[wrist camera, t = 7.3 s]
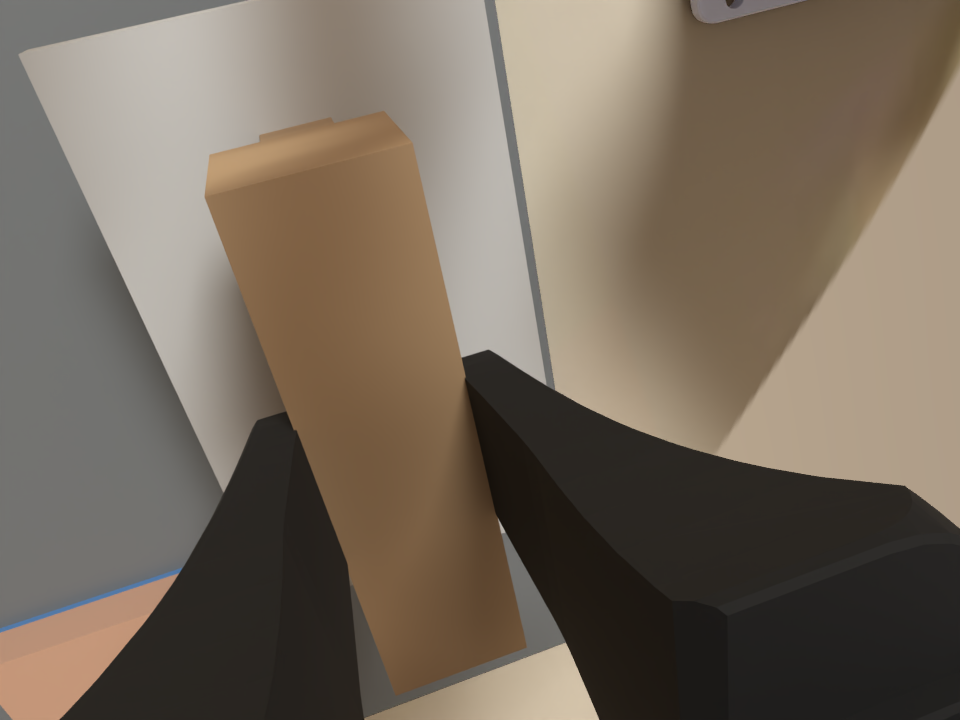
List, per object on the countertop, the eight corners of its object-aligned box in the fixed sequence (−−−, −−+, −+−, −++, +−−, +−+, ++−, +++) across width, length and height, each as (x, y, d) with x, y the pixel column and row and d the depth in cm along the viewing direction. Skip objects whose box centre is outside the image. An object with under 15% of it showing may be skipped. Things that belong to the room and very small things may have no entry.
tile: (278, 570, 21) (354, 738, 25) (275, 533, 22) (348, 700, 26) (-27, 672, 20) (106, 832, 24) (-11, 629, 21) (113, 787, 25)
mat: (449, -236, 15) (457, -242, 15) (586, 619, 29) (592, 632, 28) (-803, -4, 12) (-845, 0, 12) (9, 834, 26) (4, 852, 25)
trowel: (466, -48, 13) (584, -45, 8) (558, 496, 19) (651, 656, 15) (27, 49, 12) (-92, 110, 7) (277, 591, 18) (290, 794, 14)
